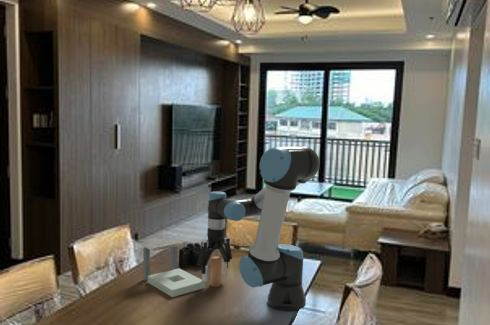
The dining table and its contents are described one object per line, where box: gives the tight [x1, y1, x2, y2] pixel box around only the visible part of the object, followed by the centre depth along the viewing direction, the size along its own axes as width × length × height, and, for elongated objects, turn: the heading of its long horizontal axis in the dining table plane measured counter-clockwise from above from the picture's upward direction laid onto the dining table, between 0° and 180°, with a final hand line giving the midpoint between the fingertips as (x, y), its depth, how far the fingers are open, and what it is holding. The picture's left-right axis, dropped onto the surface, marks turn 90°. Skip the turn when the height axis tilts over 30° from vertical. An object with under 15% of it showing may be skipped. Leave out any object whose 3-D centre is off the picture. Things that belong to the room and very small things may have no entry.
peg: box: [210, 256, 222, 288], centre depth 193 cm, size 4×4×12 cm
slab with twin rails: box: [142, 238, 185, 282], centre depth 199 cm, size 8×16×16 cm, turn 131°
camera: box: [178, 242, 201, 269], centre depth 218 cm, size 14×11×10 cm
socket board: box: [147, 267, 206, 298], centre depth 192 cm, size 20×16×3 cm
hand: (214, 278), depth 193 cm, fingers open, 10 cm apart
